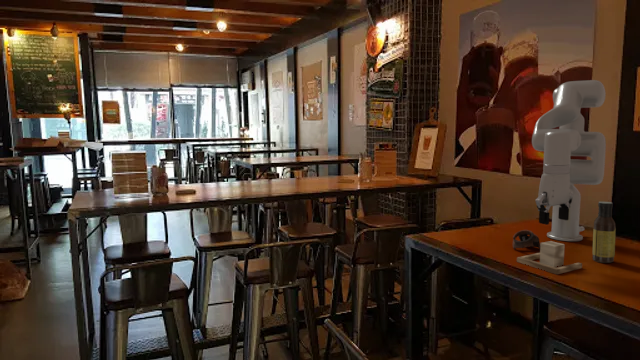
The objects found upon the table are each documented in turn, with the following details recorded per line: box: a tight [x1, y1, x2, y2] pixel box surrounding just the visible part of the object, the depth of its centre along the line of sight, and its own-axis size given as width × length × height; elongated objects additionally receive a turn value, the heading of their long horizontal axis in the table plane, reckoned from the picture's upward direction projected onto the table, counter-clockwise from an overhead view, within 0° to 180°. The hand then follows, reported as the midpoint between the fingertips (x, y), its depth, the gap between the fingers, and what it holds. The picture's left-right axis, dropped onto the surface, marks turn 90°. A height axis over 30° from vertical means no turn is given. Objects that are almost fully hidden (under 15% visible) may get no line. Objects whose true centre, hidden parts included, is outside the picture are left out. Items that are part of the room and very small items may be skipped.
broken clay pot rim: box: [512, 229, 541, 250], centre depth 163 cm, size 12×10×8 cm
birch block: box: [539, 240, 565, 268], centre depth 145 cm, size 5×5×7 cm
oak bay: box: [516, 252, 583, 275], centre depth 144 cm, size 12×14×2 cm
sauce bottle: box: [591, 201, 617, 264], centre depth 147 cm, size 6×6×20 cm
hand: (553, 221), depth 144 cm, fingers open, 9 cm apart
